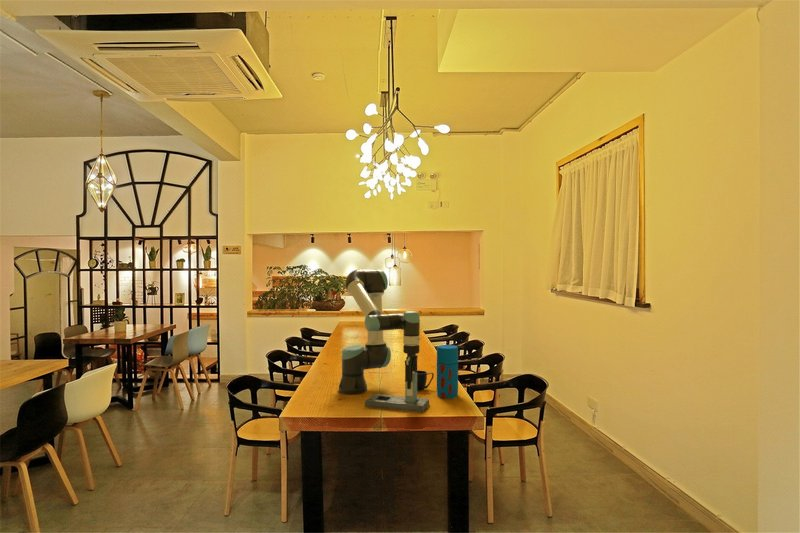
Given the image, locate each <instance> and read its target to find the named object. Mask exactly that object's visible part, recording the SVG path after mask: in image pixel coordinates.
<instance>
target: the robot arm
mask: <svg viewBox="0 0 800 533" xmlns="http://www.w3.org/2000/svg"><path fill="white" fill-rule="evenodd" d="M388 280H389V279H388V276H387V274H386V272H385V271H384V270H382V269H355V270H352V271H350V273H348V275H347V276H346V278H345V283H344V286H345V290H346V291H347V294H349V295H350V296H351V297H352V298H353V299H354V301H355V303H356V304H357V306H358V308H359V309H360V311H361V312H362V314H363V316H364V317H365V318H364V326H365V329H366V330H367V332H366V333H367V341H366V342H365V343H364V345H362V344H357V345H350V346H347V347H345V348H343V349H342V351H341V378H340V381H339V384H338V392H339V393H340V394H344V395H358V394H363V393H365V392H367V391H368V384H367V382H366V379H365V370H372V369H381V368H386V367H387V366H388V365H389V363H390V362H391V358H392V352H391V347H390V346H389V345H387V342H386V341H385V340H384V331H394V330H395V331H397V330H401V331H403V338H402V339H403V347H402V348H403V349H402V350H403V353H404V354H405V355H406V358H405V360H404V375H405V376H404V379H405V380H404V382H407V396H413V382H412V373H413V371H415V372H417V371H418V357H419V356H418V354H419V353H420V341H421V337H420V327H421V325H420V323H421V322H420V321H421V319H420V312H419V311H415V310H408V311H407V310H406V311H404V312H403V313H402V312H395V313H389V314H383V302H382V296H383V295H384V294H385V290H387V289H388V285H389V281H388ZM417 378H418V377H417Z"/></svg>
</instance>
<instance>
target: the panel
mask: <svg viewBox="0 0 800 533" xmlns="http://www.w3.org/2000/svg"><path fill="white" fill-rule="evenodd" d="M429 405H430V398H429V397H426V398H425V397H424V398H423V397H417V403H408V402H405V396H404V395H395V394H394V395H393V394H385V393H384V394H381V393H373V394H372V395H371V396H369V397H368V398H366V399H365V402H364V407H365V408H373V409H384V410H393V411H394V410H395V411H401V412H402V411H403V412H413V413H421V414H422V413H424V411H426V409H427V408H428V407H429Z"/></svg>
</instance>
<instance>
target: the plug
mask: <svg viewBox="0 0 800 533" xmlns="http://www.w3.org/2000/svg"><path fill="white" fill-rule="evenodd" d="M404 382H405V381H404ZM412 382H413V396H407V382H405V383H404V385H405V386H404V387H405V389H404V393H405V394H404V395H405V402H408V403H417V398H418V391H417V372H415V371H413V373H412Z"/></svg>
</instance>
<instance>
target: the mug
mask: <svg viewBox="0 0 800 533" xmlns="http://www.w3.org/2000/svg"><path fill="white" fill-rule="evenodd" d="M434 374H435V373H433V372H427V371H425V370H418V369H417V377H418V378H417V392H424V391H425V390H426V389H428V387H429V386H430V384H431V383H432V381H433V380H434ZM428 375H431V378H430V381H429V382H428V383H427V381H428Z"/></svg>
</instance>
